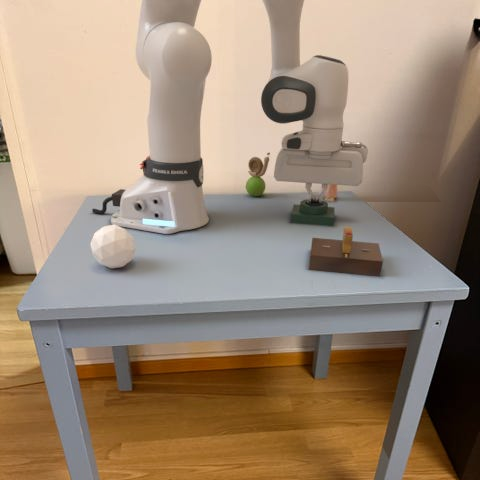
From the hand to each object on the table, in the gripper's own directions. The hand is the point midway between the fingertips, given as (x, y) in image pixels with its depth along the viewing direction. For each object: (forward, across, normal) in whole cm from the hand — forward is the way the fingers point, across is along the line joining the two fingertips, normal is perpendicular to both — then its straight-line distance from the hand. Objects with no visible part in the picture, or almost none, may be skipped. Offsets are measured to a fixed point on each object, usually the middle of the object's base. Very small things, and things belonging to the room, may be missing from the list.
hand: (314, 201), depth 108 cm
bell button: (+2, 0, 0) cm, 2 cm away
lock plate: (+4, -7, +25) cm, 27 cm away
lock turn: (+1, -7, +25) cm, 26 cm away
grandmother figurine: (+4, -4, -19) cm, 20 cm away
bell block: (+4, 0, 0) cm, 4 cm away
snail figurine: (+4, +16, -16) cm, 23 cm away
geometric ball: (+4, +35, +36) cm, 51 cm away
